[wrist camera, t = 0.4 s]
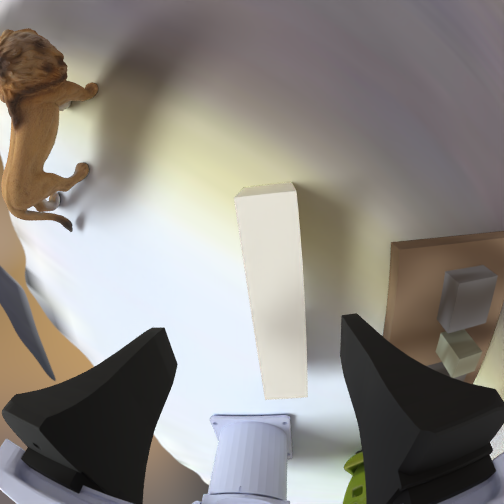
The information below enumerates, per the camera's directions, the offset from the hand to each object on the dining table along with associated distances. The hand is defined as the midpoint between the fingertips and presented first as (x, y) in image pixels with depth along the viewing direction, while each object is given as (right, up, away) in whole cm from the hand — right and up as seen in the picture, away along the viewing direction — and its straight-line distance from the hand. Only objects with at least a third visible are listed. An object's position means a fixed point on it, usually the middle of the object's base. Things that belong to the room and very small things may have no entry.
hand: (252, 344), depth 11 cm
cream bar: (+2, +1, +9) cm, 9 cm away
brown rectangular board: (+16, -3, +9) cm, 19 cm away
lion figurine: (-14, +13, +6) cm, 20 cm away
